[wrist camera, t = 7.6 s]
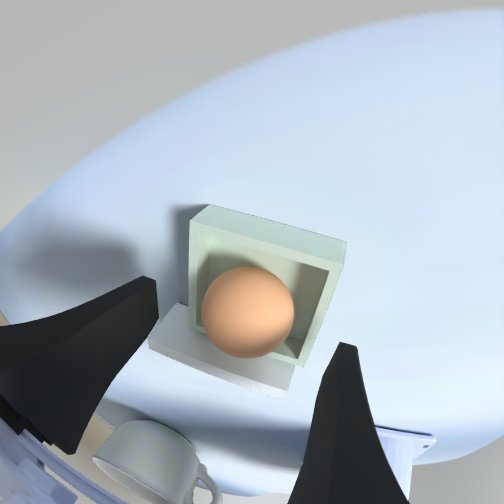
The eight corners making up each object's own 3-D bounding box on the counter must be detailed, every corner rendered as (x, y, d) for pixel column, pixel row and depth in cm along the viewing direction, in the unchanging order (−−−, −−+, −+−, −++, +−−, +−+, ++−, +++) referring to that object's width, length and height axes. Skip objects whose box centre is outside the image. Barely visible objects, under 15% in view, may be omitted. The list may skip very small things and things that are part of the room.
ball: (289, 326, 14) (271, 387, 11) (217, 303, 15) (185, 357, 12) (310, 264, 12) (295, 325, 9) (225, 239, 13) (186, 290, 10)
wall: (297, 354, 16) (283, 399, 13) (177, 312, 17) (149, 348, 15) (301, 344, 15) (287, 391, 13) (176, 302, 17) (147, 338, 14)
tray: (310, 341, 15) (303, 367, 13) (203, 306, 16) (188, 327, 15) (346, 242, 12) (343, 264, 10) (209, 204, 13) (189, 220, 12)
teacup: (134, 431, 33) (104, 477, 26) (116, 391, 27) (74, 447, 20) (235, 476, 30) (211, 529, 24) (245, 448, 24) (213, 521, 18)
